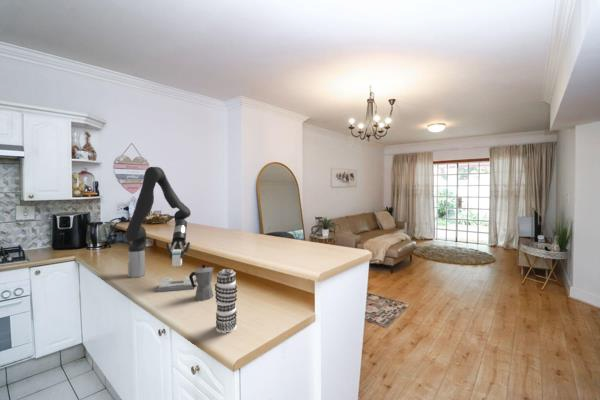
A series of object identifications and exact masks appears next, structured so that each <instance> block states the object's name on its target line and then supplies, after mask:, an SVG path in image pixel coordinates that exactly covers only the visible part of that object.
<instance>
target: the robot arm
mask: <svg viewBox="0 0 600 400" xmlns="http://www.w3.org/2000/svg"><path fill="white" fill-rule="evenodd" d="M156 184H158V186H159V187H160V189H161V191H162V194H163V196H164V199H165V200H166V202H167V204H168V205H169V206H170V208H171V209H178V210H177V211H175V212H174V215H173V218H174V222H175V223H174V230H173V234H172V240H171V242H170V243H168V242H166V251H167V254H169V258H170V260H172V251H173V250H175V249H181V256H180V258H181V259H182V260H183V258H184V254H185V253H188V251H189V249H190V247H191V242H189V241H188V242H187V241H186V239H187V233H188V231H187V227H188V221H187V220H186V219H187V218H189V217H190V216H191V215H192V214H191V210H190V208H189V207H188V206H187V205H185V204H184V203H183V202H182V201H181V200H180V198H179V197H178V195H177V194H176V192H175V190H174V189H173V188H172V186H171V184H170V182H169V180H168V178H167V175H166V174H165V172H164V170H163V169H162V168H161V167H159V166H150V167H147V168H146V170H145V172H144V176H143V180H142V185H141V188H140V192H139V194H138V198H137V201H136V204H135V205H134V206H135V207H134V209H133V212H132V213H133V214H132V216H131V218H130V222H129V224H128V226H127V228H126V230H125V239H126V240H127V241H128V242H131V244H130V245H129V246H128V263H127V275H128V276H127V277H128V278H132V279H133V278H140V277H145V275H146V252H145V250H146V249H145V247H146V245H147V231H146V228H145V227H144V226H142V223H143V222H144V220H145V219H146V218H147V216H148V215H149V214H150V212H151V211H152V208H153V205H154V201H155V196H154V195H155V193H154V192H155V191H154V190H155V187H156ZM171 246H172V247H171ZM184 247H185V248H184ZM170 248H171V249H170Z"/></svg>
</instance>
